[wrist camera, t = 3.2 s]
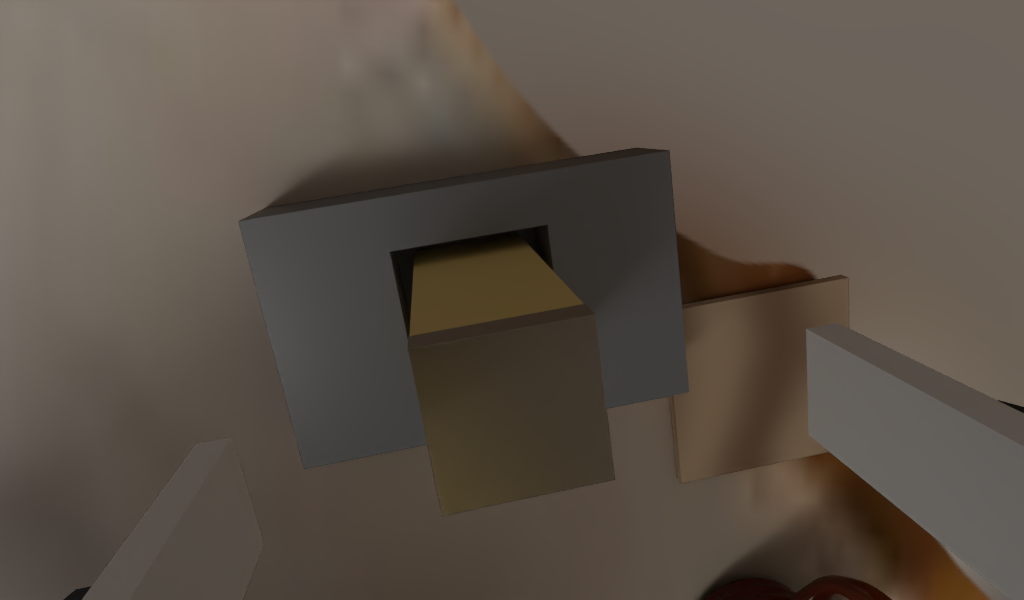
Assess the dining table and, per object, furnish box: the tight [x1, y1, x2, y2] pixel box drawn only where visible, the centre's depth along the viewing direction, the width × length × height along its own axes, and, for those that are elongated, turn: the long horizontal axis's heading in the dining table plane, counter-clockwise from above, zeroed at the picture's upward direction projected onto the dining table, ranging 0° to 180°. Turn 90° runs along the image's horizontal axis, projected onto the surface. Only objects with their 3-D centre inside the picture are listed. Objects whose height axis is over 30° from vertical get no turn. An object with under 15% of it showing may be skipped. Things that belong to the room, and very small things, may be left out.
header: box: [238, 148, 689, 469], centre depth 27 cm, size 16×10×4 cm, turn 99°
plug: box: [408, 233, 615, 516], centre depth 22 cm, size 5×4×13 cm
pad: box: [670, 275, 849, 483], centre depth 32 cm, size 9×9×1 cm
